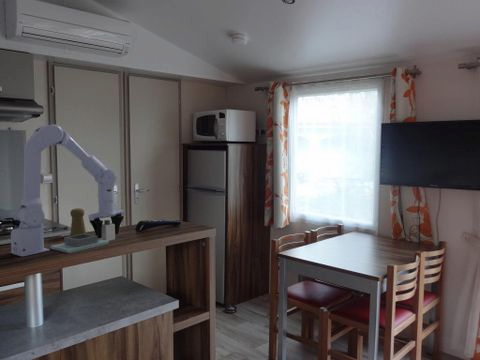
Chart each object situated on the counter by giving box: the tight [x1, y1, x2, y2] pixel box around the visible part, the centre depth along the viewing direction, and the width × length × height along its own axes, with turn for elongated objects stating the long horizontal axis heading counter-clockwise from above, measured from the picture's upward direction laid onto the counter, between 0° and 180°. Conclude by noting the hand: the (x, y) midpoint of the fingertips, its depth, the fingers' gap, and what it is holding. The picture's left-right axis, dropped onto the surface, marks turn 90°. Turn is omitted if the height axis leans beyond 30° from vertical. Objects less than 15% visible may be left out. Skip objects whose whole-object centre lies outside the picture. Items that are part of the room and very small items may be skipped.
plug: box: [99, 219, 116, 242], centre depth 155 cm, size 4×4×8 cm
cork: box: [69, 207, 87, 236], centre depth 162 cm, size 6×6×11 cm
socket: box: [50, 233, 110, 254], centre depth 145 cm, size 16×11×4 cm
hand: (107, 235), depth 155 cm, fingers open, 7 cm apart
